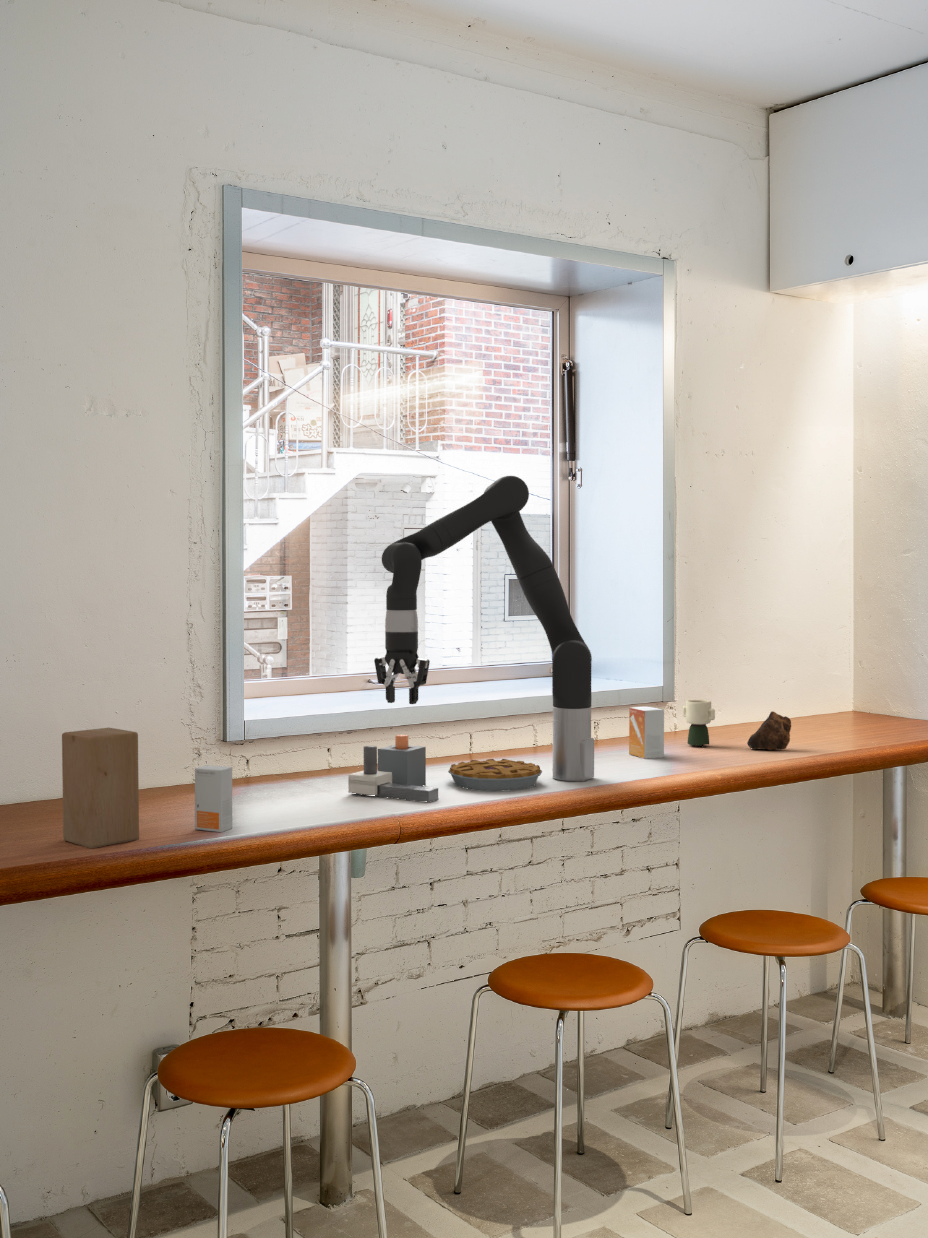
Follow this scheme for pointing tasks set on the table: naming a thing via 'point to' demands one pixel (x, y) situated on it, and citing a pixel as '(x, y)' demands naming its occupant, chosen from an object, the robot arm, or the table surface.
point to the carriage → (368, 775)
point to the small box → (646, 732)
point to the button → (401, 742)
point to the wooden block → (100, 787)
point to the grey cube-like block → (404, 764)
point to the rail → (407, 792)
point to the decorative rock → (772, 733)
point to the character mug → (698, 720)
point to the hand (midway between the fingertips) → (401, 702)
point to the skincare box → (213, 798)
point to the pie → (495, 775)
